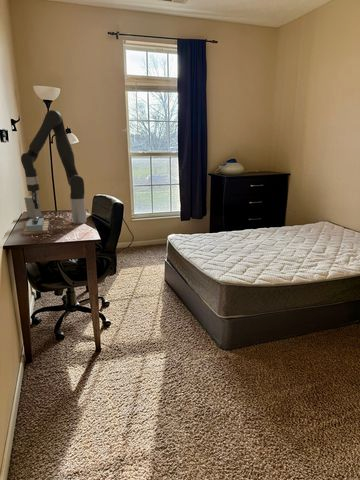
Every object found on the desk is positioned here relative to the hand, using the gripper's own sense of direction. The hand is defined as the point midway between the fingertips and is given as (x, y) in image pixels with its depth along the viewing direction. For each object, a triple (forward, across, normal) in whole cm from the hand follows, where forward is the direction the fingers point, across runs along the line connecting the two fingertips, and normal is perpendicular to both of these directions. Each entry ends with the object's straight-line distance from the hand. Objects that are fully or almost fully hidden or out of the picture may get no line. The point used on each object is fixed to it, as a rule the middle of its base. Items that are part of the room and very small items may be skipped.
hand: (36, 208), depth 221 cm
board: (+11, +12, -1) cm, 16 cm away
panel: (+9, +16, 0) cm, 19 cm away
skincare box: (+11, -25, -5) cm, 28 cm away
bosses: (+9, +13, -1) cm, 16 cm away
